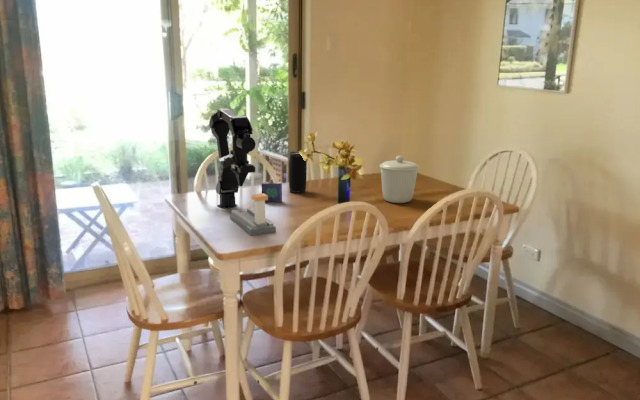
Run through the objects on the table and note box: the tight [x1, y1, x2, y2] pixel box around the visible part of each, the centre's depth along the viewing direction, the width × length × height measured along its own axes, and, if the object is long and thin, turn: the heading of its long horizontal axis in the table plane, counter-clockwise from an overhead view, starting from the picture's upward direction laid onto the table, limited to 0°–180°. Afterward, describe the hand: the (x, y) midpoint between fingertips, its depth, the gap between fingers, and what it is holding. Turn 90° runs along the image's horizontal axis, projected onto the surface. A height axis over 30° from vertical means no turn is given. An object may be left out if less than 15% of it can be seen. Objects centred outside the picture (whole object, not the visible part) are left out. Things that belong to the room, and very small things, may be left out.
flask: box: [261, 178, 283, 204], centre depth 245 cm, size 9×3×11 cm, turn 95°
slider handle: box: [250, 193, 268, 228], centre depth 203 cm, size 5×5×12 cm
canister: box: [379, 155, 420, 204], centre depth 248 cm, size 18×18×21 cm
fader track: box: [229, 207, 277, 236], centre depth 212 cm, size 24×10×3 cm, turn 28°
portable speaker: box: [288, 150, 308, 194], centre depth 262 cm, size 9×9×20 cm
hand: (240, 186), depth 219 cm, fingers closed
